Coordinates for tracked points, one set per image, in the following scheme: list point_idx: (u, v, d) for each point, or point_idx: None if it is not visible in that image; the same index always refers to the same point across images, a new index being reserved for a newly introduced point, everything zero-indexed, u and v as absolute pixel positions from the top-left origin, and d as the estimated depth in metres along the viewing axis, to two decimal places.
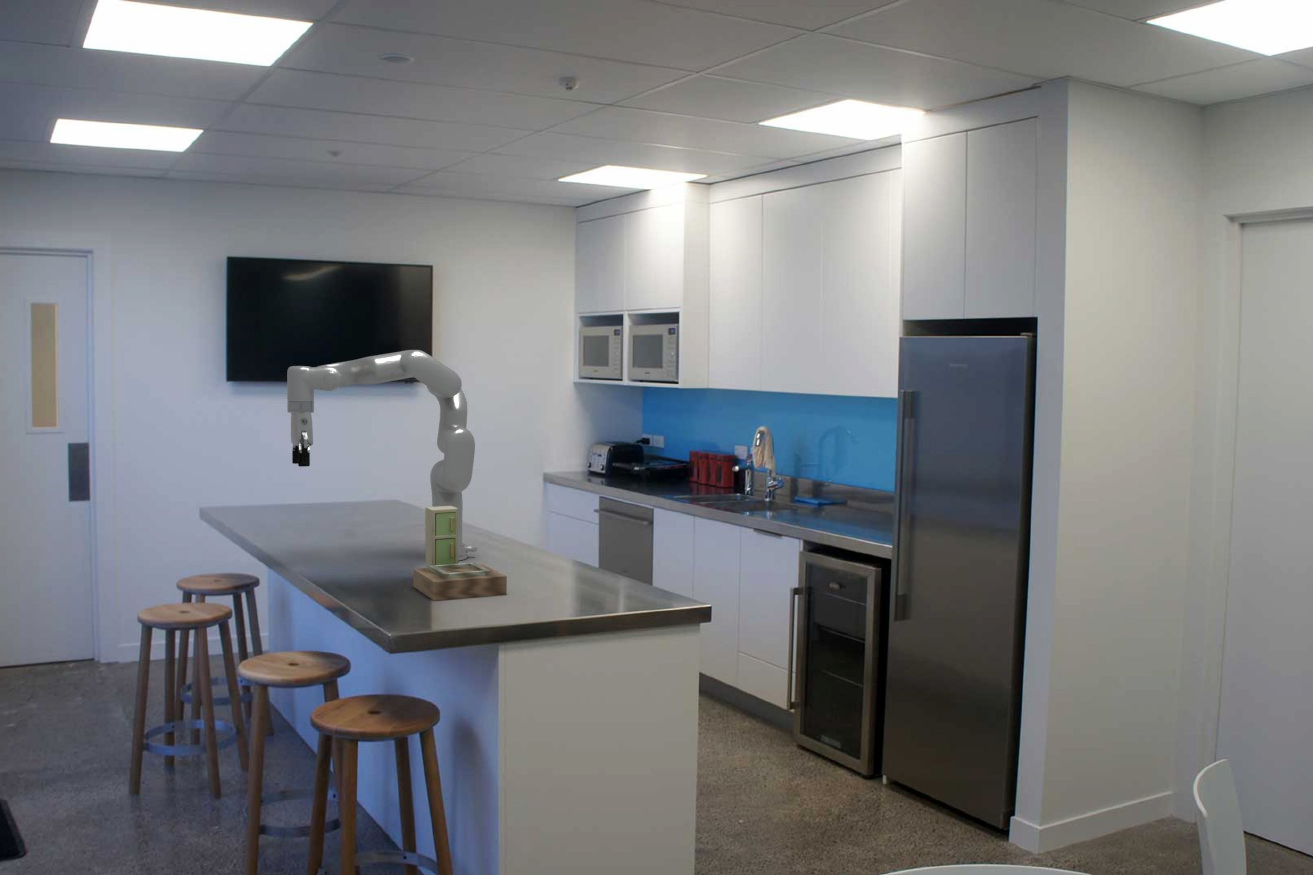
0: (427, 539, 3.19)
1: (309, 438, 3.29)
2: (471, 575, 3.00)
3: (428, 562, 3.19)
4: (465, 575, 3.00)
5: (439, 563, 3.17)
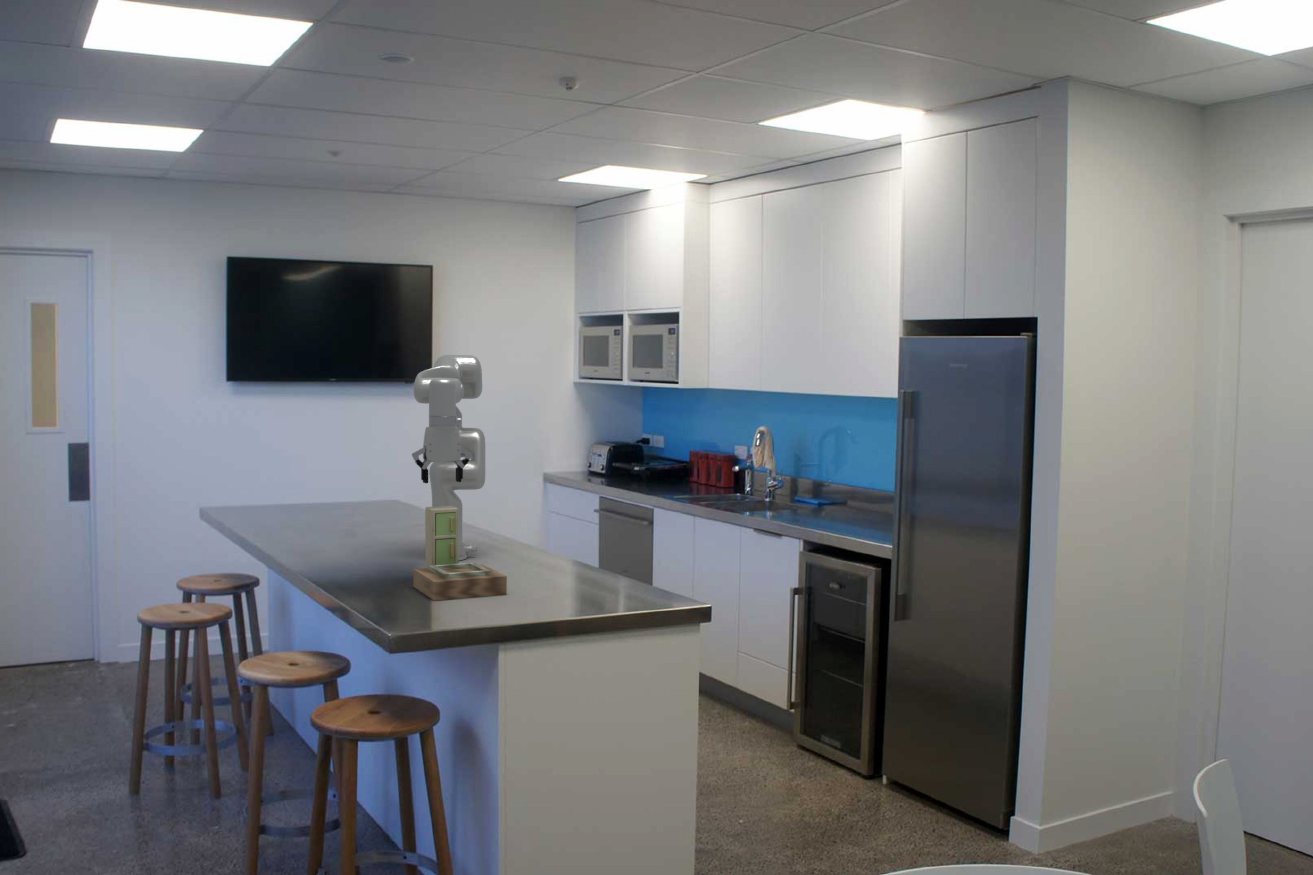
0: (427, 539, 3.19)
1: None
2: (471, 575, 3.00)
3: (428, 562, 3.19)
4: (465, 575, 3.00)
5: (439, 563, 3.17)
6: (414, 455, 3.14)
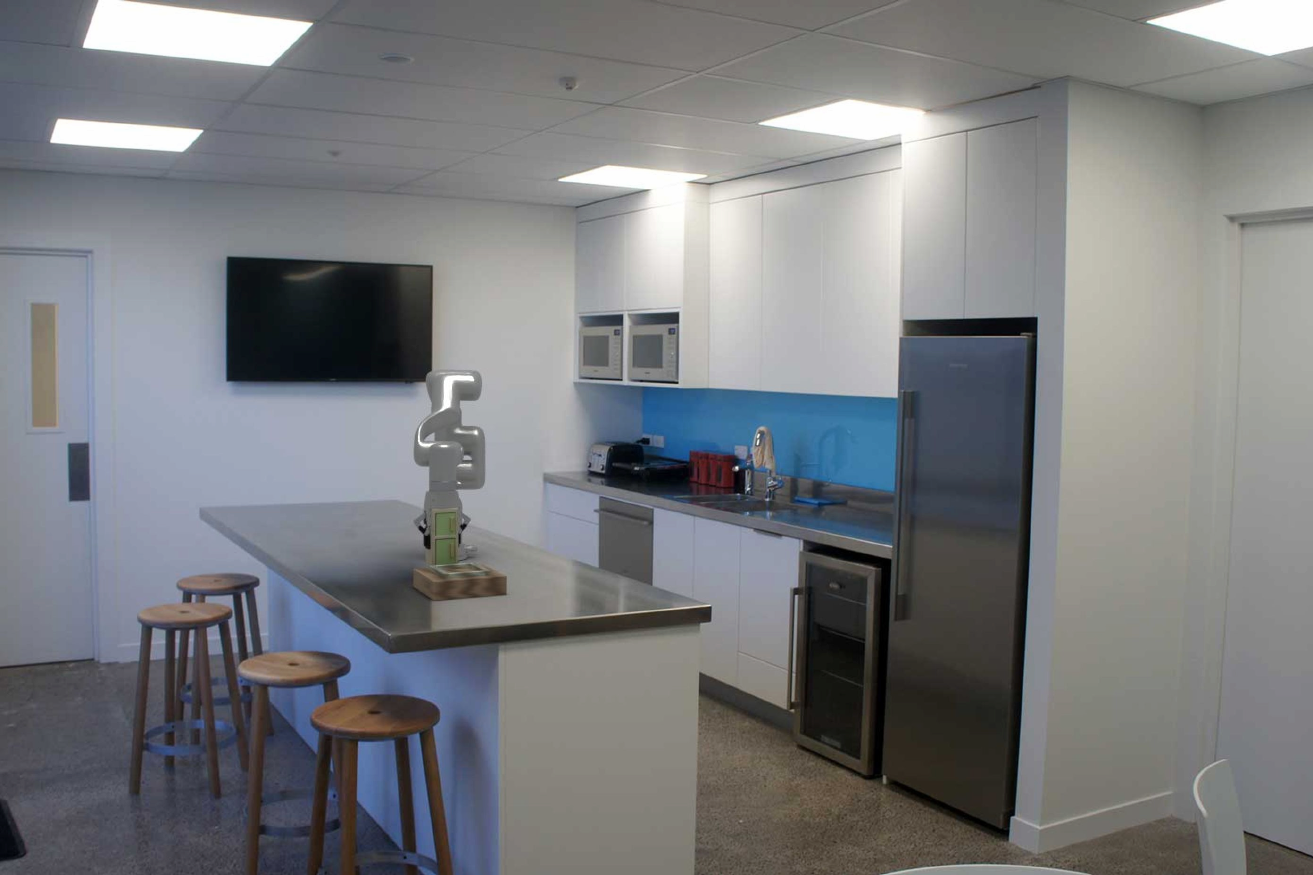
0: None
1: None
2: (471, 575, 3.00)
3: (428, 562, 3.19)
4: (465, 575, 3.00)
5: (439, 563, 3.17)
6: (416, 522, 3.15)
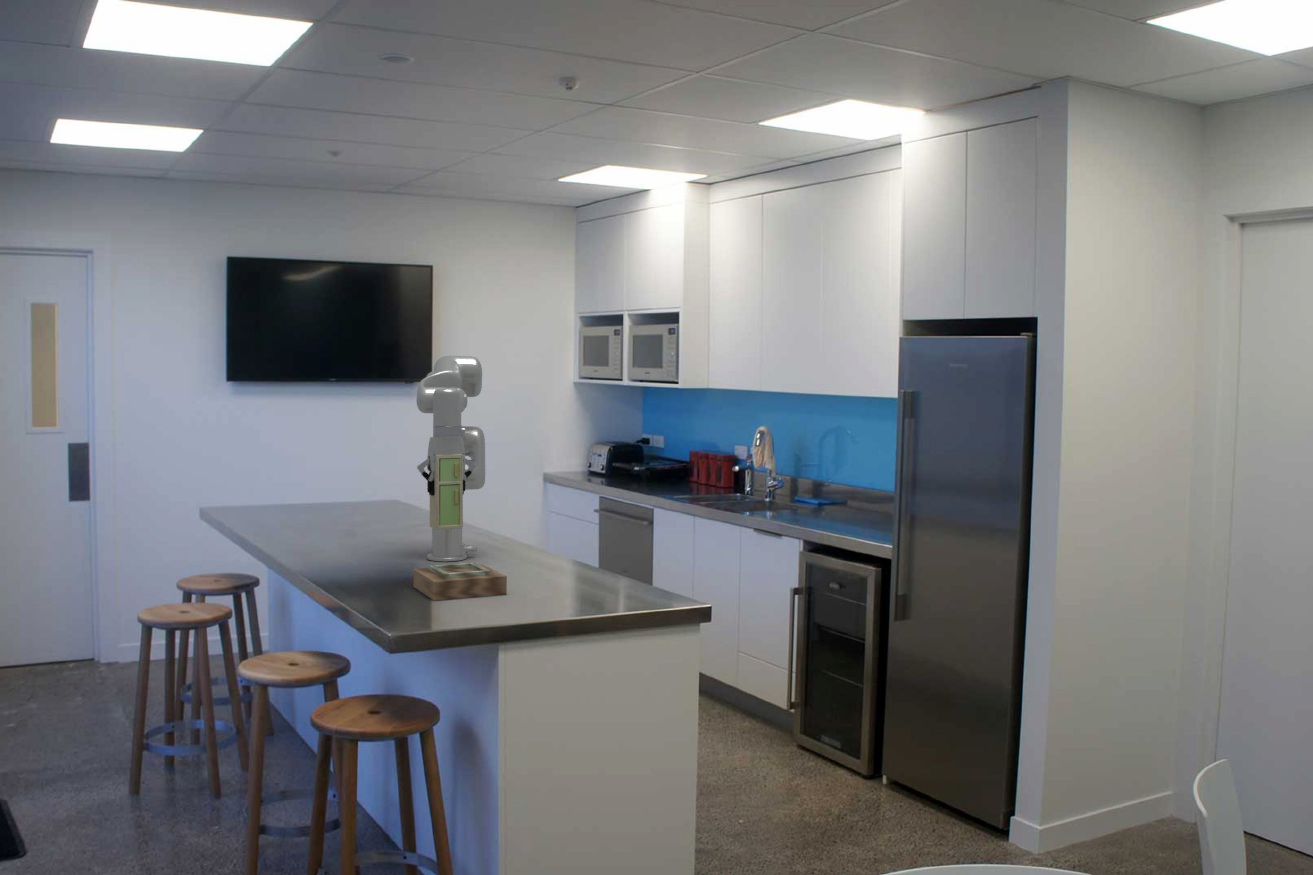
0: None
1: None
2: (471, 575, 3.00)
3: (432, 508, 3.14)
4: (465, 575, 3.00)
5: (443, 509, 3.12)
6: (419, 468, 3.11)
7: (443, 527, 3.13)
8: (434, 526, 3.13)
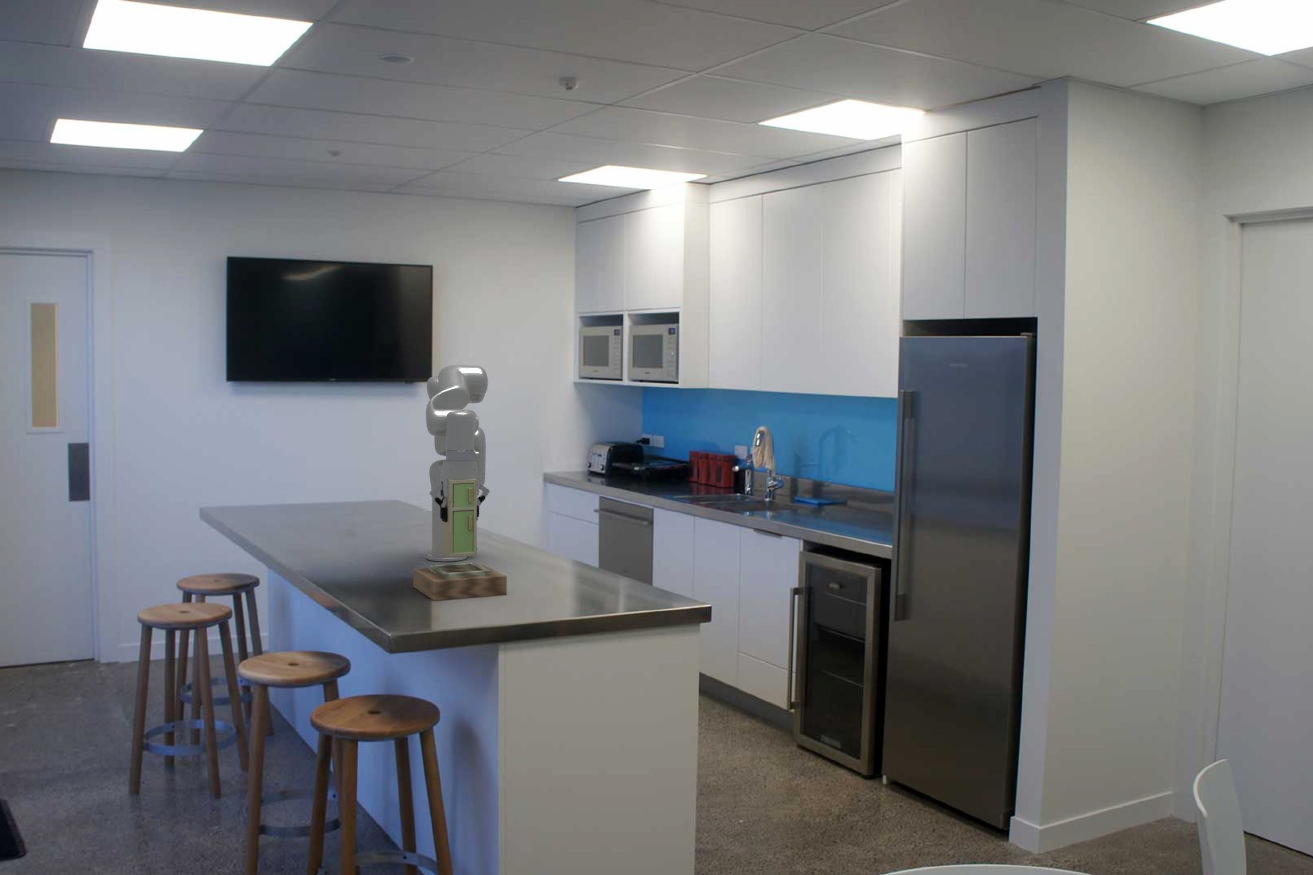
0: None
1: None
2: (471, 575, 3.00)
3: (445, 535, 3.04)
4: (465, 575, 3.00)
5: (457, 536, 3.02)
6: (432, 493, 3.00)
7: (456, 554, 3.02)
8: (447, 553, 3.03)
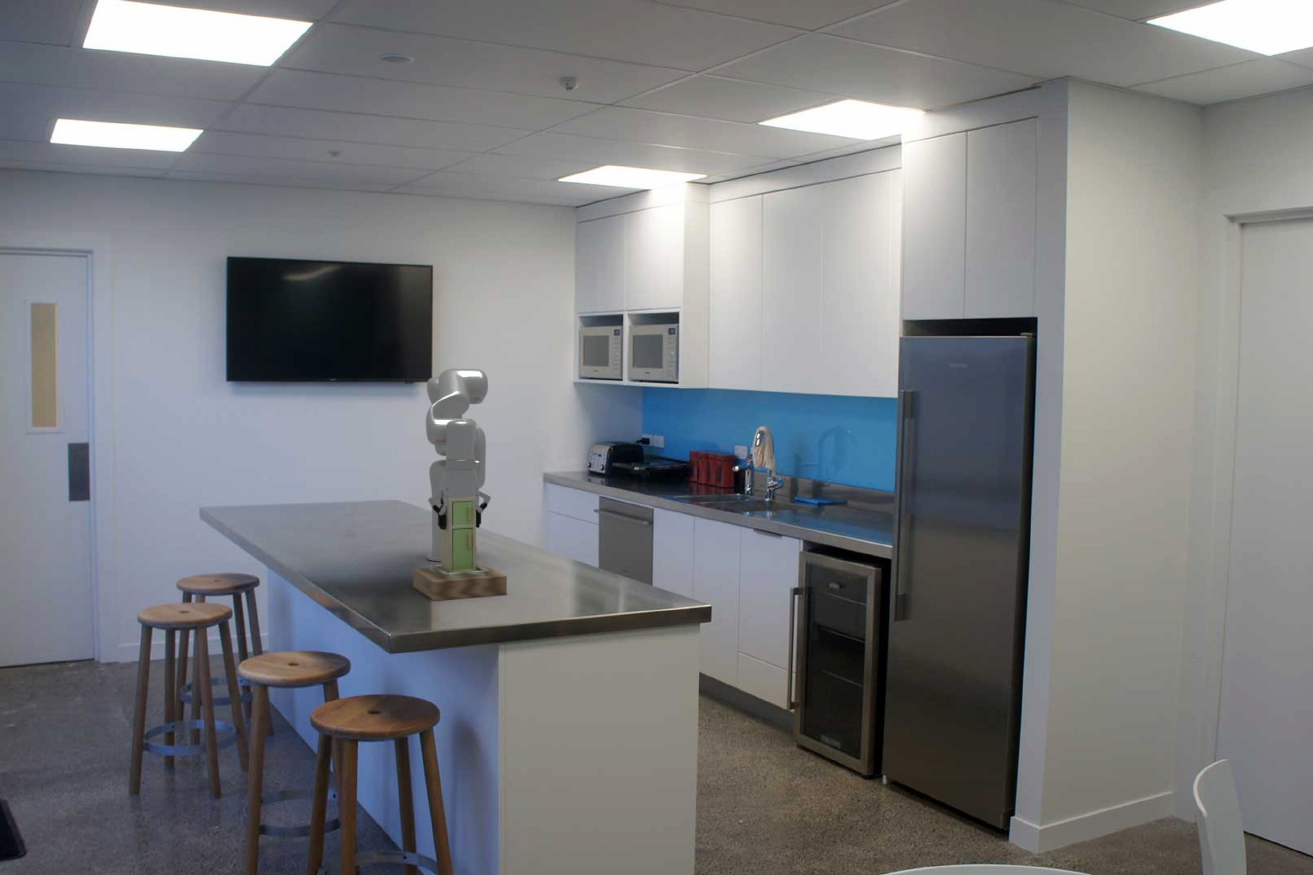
0: None
1: None
2: (471, 575, 3.00)
3: (445, 553, 3.04)
4: (465, 575, 3.00)
5: (456, 554, 3.03)
6: (431, 500, 3.00)
7: None
8: (447, 571, 3.03)
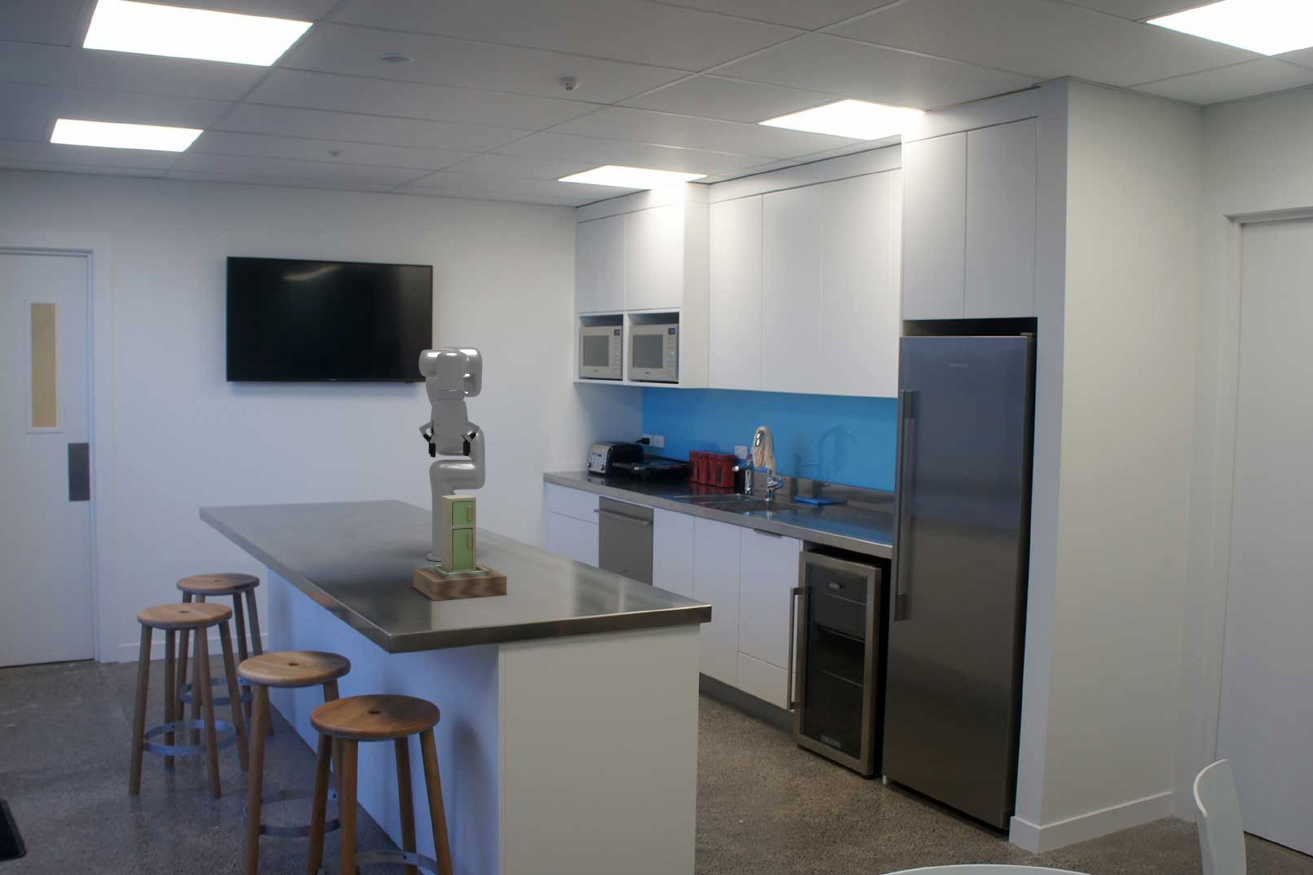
0: (444, 529, 3.04)
1: None
2: (471, 575, 3.00)
3: (445, 553, 3.04)
4: (465, 575, 3.00)
5: (456, 554, 3.03)
6: (421, 429, 3.11)
7: None
8: (447, 571, 3.03)
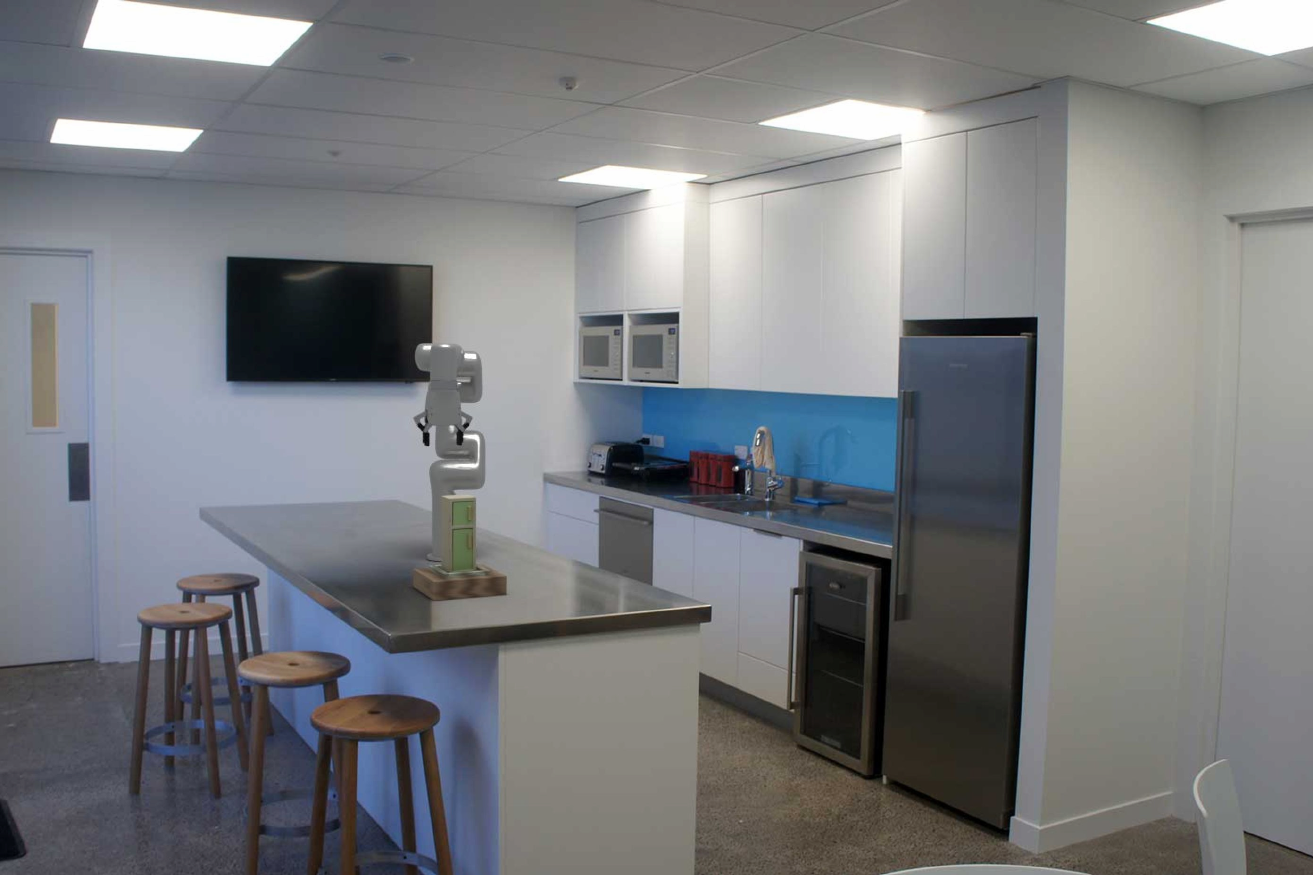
0: (444, 529, 3.04)
1: None
2: (471, 575, 3.00)
3: (445, 553, 3.04)
4: (465, 575, 3.00)
5: (456, 554, 3.03)
6: (416, 418, 3.19)
7: None
8: (447, 571, 3.03)
